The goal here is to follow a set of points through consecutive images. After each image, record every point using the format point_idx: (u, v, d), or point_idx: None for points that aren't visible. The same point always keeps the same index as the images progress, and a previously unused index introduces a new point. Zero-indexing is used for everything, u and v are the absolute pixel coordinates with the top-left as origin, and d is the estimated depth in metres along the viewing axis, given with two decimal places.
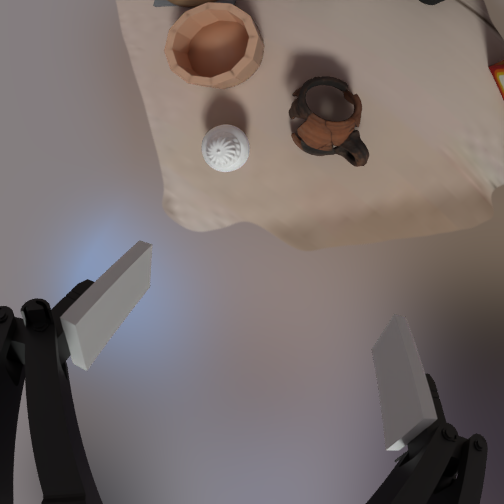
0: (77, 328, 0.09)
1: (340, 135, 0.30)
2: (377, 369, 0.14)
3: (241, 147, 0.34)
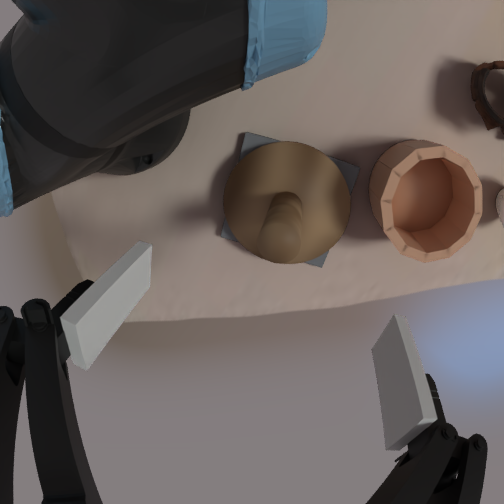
0: (77, 328, 0.09)
1: None
2: (377, 369, 0.14)
3: None
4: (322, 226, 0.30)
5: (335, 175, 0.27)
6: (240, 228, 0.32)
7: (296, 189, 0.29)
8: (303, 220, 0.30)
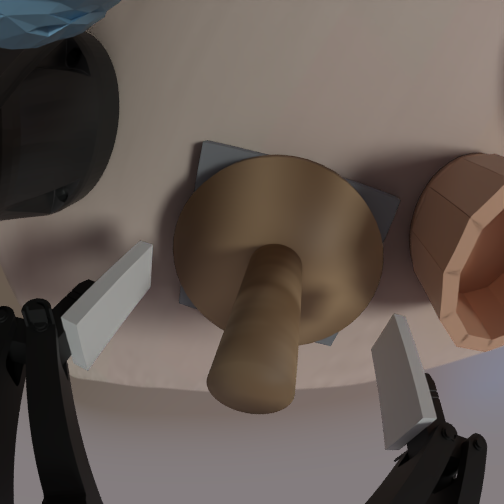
0: (78, 328, 0.09)
1: None
2: (377, 369, 0.14)
3: None
4: (335, 297, 0.18)
5: (361, 216, 0.15)
6: (203, 298, 0.20)
7: (292, 240, 0.17)
8: (304, 288, 0.18)
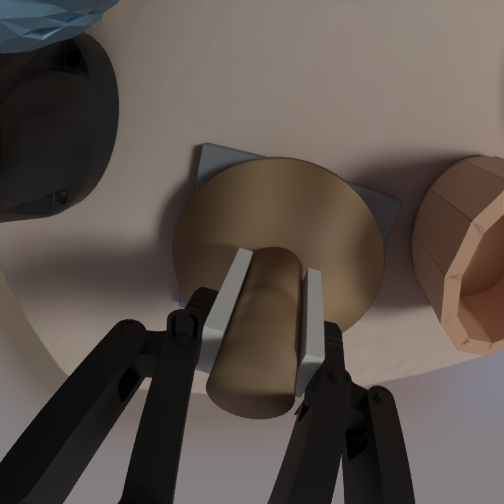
0: (223, 334, 0.11)
1: None
2: None
3: None
4: (335, 300, 0.18)
5: (362, 218, 0.15)
6: None
7: (292, 243, 0.17)
8: None
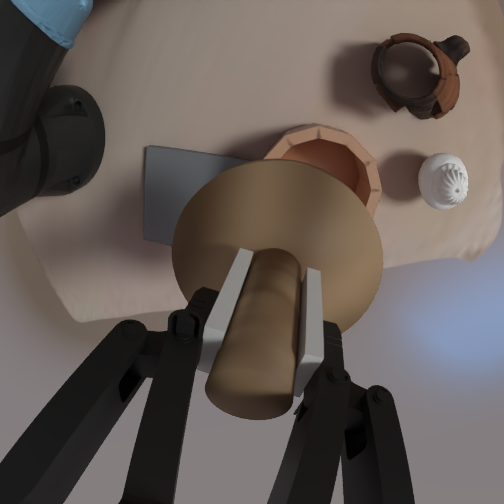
0: (224, 335, 0.11)
1: (448, 63, 0.18)
2: None
3: (449, 162, 0.23)
4: (334, 301, 0.18)
5: (361, 220, 0.15)
6: None
7: (291, 244, 0.17)
8: None
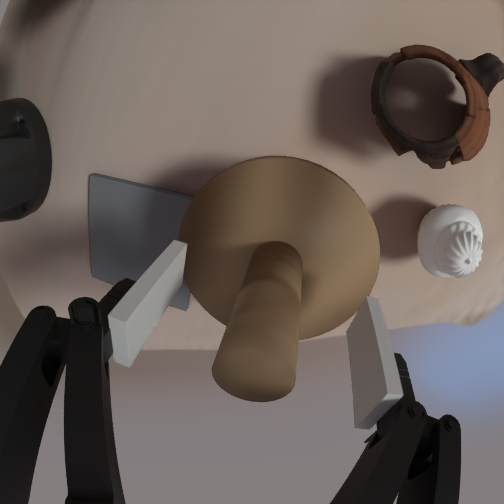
0: (126, 325, 0.10)
1: (478, 93, 0.12)
2: (350, 350, 0.15)
3: (461, 219, 0.17)
4: (333, 292, 0.19)
5: (358, 214, 0.16)
6: (207, 294, 0.20)
7: (292, 238, 0.17)
8: (303, 284, 0.19)
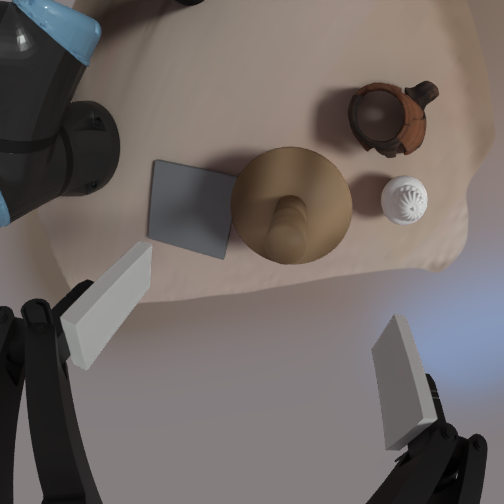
0: (77, 328, 0.09)
1: (414, 109, 0.25)
2: (377, 369, 0.14)
3: (408, 184, 0.30)
4: (325, 227, 0.31)
5: (337, 178, 0.28)
6: (247, 231, 0.33)
7: (300, 192, 0.30)
8: (307, 222, 0.31)
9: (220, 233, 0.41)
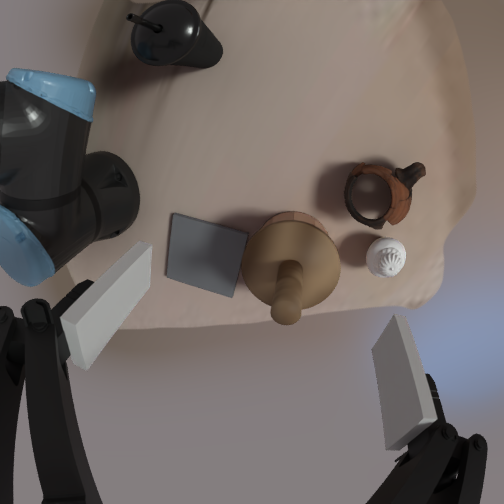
0: (77, 328, 0.09)
1: (401, 191, 0.32)
2: (377, 369, 0.14)
3: (389, 246, 0.37)
4: (318, 284, 0.39)
5: (329, 247, 0.36)
6: (254, 285, 0.40)
7: (298, 258, 0.37)
8: (303, 280, 0.39)
9: (230, 277, 0.48)
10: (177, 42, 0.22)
